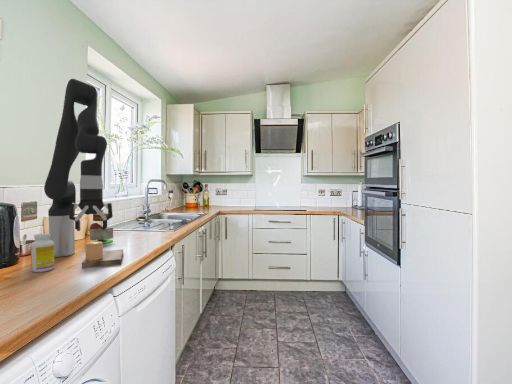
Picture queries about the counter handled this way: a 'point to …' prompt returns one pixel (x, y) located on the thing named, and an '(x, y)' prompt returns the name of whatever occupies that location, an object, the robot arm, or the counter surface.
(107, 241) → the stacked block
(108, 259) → the board
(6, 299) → the counter surface
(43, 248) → the supplement bottle
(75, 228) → the robot arm
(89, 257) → the tan wooden cube
